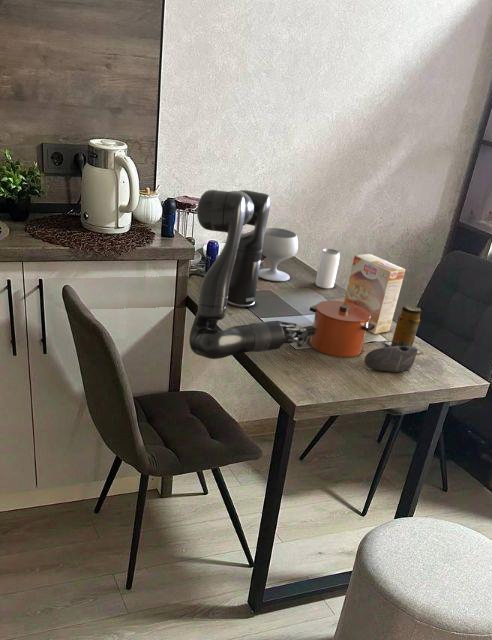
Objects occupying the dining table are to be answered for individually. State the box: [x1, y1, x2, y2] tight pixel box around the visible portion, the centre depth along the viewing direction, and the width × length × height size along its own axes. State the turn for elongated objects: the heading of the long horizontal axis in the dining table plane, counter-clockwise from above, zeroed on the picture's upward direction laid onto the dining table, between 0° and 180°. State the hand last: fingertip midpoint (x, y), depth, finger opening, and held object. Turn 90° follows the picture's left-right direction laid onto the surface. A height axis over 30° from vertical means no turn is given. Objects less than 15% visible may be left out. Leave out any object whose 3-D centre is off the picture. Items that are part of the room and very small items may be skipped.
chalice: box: [258, 227, 299, 282], centre depth 249 cm, size 14×14×15 cm
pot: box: [309, 299, 375, 358], centre depth 204 cm, size 19×15×12 cm
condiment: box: [384, 304, 422, 354], centre depth 209 cm, size 7×8×12 cm
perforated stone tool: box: [364, 346, 418, 373], centre depth 195 cm, size 15×5×7 cm, turn 98°
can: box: [314, 248, 341, 290], centre depth 248 cm, size 6×6×12 cm
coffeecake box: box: [343, 253, 406, 335], centre depth 220 cm, size 15×7×20 cm, turn 36°
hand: (314, 330), depth 198 cm, fingers closed
